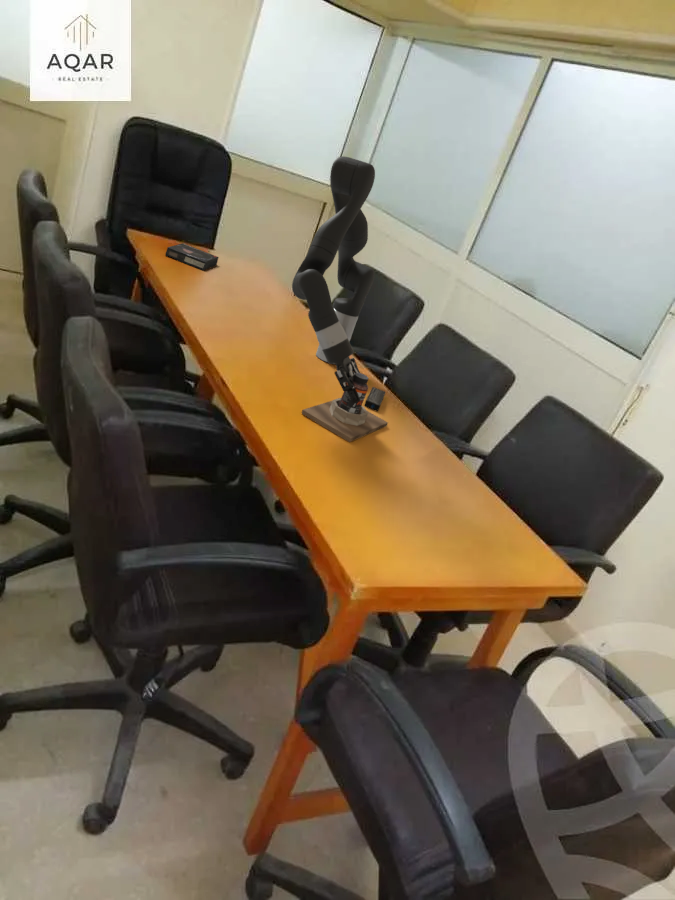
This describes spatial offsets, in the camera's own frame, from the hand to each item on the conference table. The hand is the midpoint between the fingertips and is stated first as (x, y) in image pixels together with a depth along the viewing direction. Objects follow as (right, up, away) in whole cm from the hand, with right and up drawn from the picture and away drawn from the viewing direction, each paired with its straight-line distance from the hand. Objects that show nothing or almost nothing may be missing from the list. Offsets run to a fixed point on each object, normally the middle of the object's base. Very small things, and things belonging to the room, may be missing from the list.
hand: (359, 399), depth 186 cm
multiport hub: (+5, +1, +24) cm, 25 cm away
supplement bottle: (-3, -4, +2) cm, 5 cm away
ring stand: (-4, -6, +3) cm, 8 cm away
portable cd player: (-67, +64, +99) cm, 136 cm away
